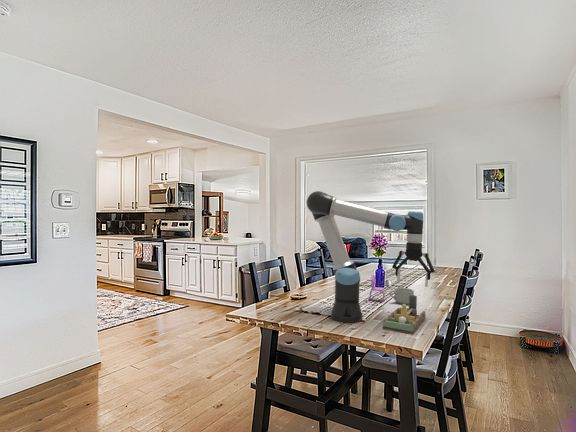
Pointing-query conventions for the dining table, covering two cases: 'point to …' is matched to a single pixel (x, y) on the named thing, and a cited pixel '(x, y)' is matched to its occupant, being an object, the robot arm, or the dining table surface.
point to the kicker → (404, 310)
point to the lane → (417, 322)
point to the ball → (402, 319)
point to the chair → (375, 288)
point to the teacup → (402, 295)
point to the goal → (398, 324)
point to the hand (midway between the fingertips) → (412, 284)
